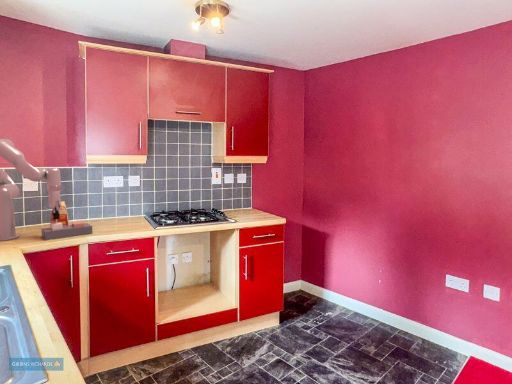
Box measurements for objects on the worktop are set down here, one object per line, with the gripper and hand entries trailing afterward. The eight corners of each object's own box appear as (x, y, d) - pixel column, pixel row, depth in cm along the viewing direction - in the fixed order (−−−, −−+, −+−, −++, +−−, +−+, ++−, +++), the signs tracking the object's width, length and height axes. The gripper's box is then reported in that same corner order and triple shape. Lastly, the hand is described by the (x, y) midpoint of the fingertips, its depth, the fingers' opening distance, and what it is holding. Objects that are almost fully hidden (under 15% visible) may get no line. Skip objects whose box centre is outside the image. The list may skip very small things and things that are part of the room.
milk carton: (57, 232, 237) (55, 201, 234) (49, 230, 241) (47, 200, 239) (71, 229, 244) (69, 199, 242) (63, 227, 249) (61, 198, 247)
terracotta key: (71, 230, 233) (71, 222, 232) (81, 229, 237) (81, 221, 236) (74, 232, 229) (73, 224, 228) (84, 230, 232) (83, 223, 232)
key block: (41, 236, 225) (41, 228, 224) (87, 230, 242) (86, 223, 241) (45, 240, 217) (45, 231, 216) (92, 233, 233) (92, 225, 233)
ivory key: (50, 231, 225) (49, 223, 225) (60, 230, 229) (60, 222, 228) (52, 233, 221) (52, 225, 220) (62, 232, 225) (62, 223, 224)
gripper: (44, 188, 225) (46, 218, 227) (50, 190, 214) (52, 221, 216) (58, 187, 230) (60, 216, 232) (64, 189, 218) (66, 220, 221)
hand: (56, 219), depth 224 cm, fingers closed
